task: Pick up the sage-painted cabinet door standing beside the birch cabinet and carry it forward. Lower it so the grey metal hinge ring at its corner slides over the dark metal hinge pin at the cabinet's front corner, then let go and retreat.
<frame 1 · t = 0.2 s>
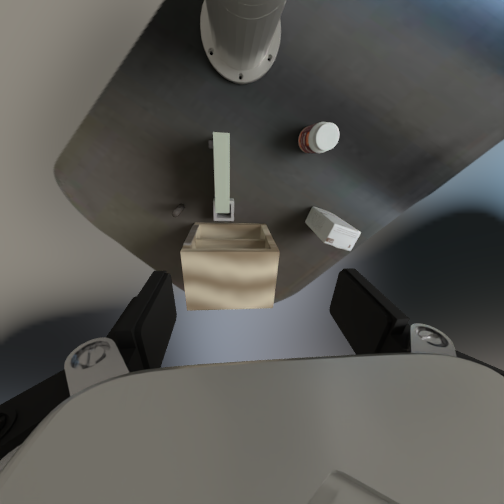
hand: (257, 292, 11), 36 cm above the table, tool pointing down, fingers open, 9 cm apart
skincare box: (317, 218, 48), on the table
cabinet: (230, 246, 49), on the table
pill bottle: (309, 139, 40), on the table
door: (223, 171, 41), on the table
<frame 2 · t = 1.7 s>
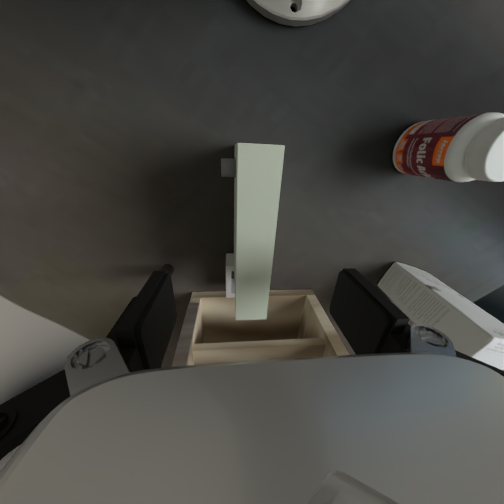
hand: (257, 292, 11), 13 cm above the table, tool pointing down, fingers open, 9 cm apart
skincare box: (398, 277, 29), on the table
cabinet: (251, 323, 30), on the table
pill bottle: (412, 149, 21), on the table
door: (245, 208, 22), on the table
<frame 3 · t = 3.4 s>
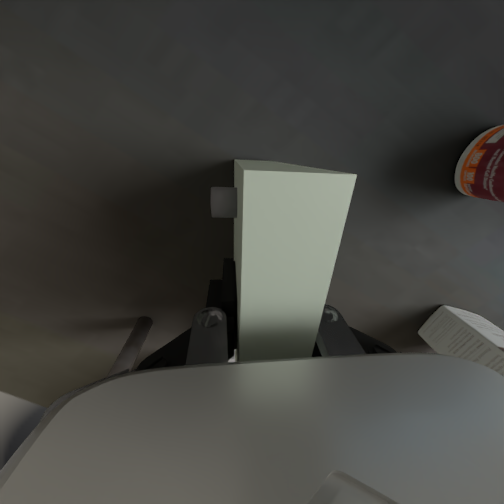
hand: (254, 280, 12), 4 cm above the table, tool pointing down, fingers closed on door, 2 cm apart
skincare box: (443, 322, 22), on the table
cabinet: (256, 380, 23), on the table
pill bottle: (480, 163, 15), on the table
door: (249, 244, 16), on the table, touching gripper
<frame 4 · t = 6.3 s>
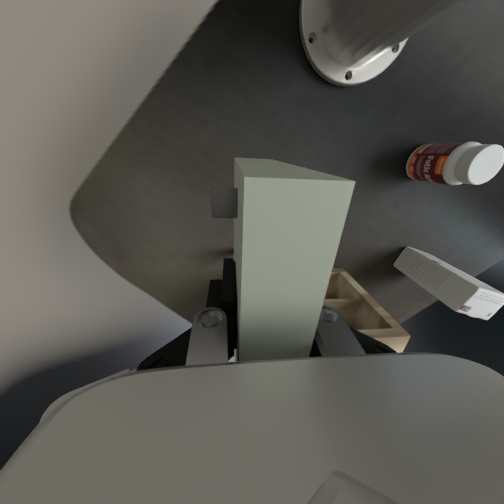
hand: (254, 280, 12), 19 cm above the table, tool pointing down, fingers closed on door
skincare box: (408, 259, 37), on the table
cabinet: (294, 296, 38), on the table
pill bottle: (419, 162, 29), on the table
door: (249, 242, 16), point 15 cm above the table, touching gripper
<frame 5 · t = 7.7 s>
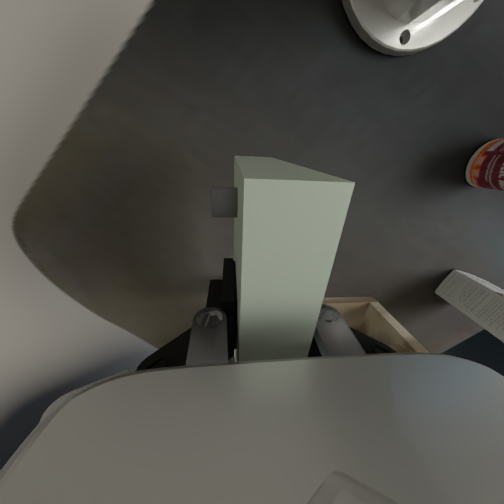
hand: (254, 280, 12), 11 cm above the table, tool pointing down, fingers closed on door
skincare box: (454, 284, 29), on the table
cabinet: (310, 330, 30), on the table
pill bottle: (483, 164, 22), on the table
door: (249, 241, 16), point 7 cm above the table, touching gripper
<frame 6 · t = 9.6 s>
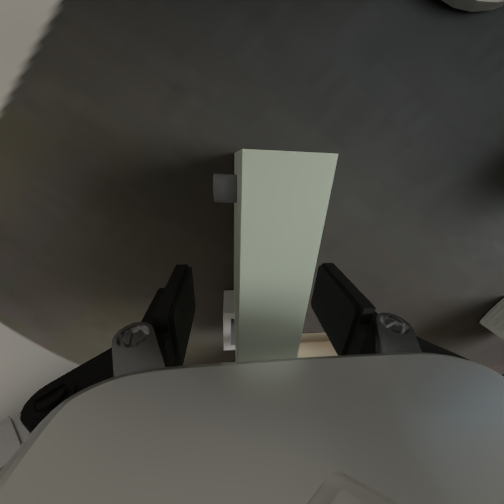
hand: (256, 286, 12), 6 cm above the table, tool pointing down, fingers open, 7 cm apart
skincare box: (502, 313, 24), on the table
cabinet: (327, 367, 25), on the table
door: (248, 235, 16), on the table
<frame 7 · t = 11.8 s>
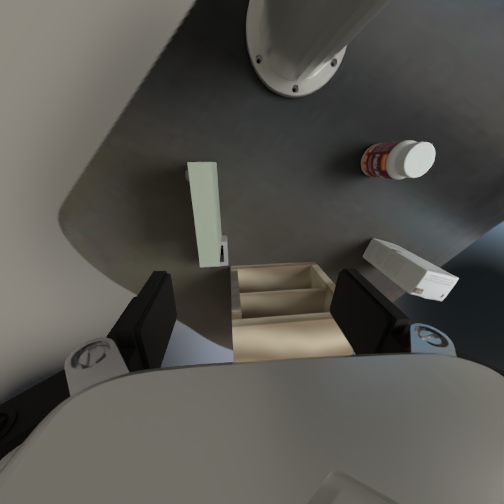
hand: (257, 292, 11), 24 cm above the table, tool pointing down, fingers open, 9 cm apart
skincare box: (377, 251, 39), on the table
cabinet: (272, 290, 40), on the table
pill bottle: (373, 160, 32), on the table
door: (211, 203, 32), on the table
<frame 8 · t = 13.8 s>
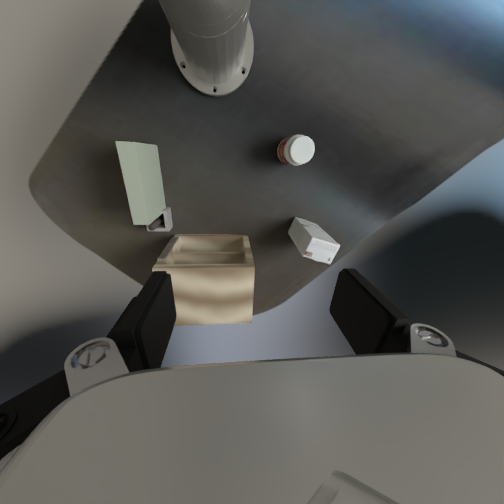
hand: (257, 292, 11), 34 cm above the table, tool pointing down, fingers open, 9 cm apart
skincare box: (301, 228, 47), on the table
cabinet: (213, 258, 48), on the table
pill bottle: (288, 151, 40), on the table
door: (155, 179, 39), on the table
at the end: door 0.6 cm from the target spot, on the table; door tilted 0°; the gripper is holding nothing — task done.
